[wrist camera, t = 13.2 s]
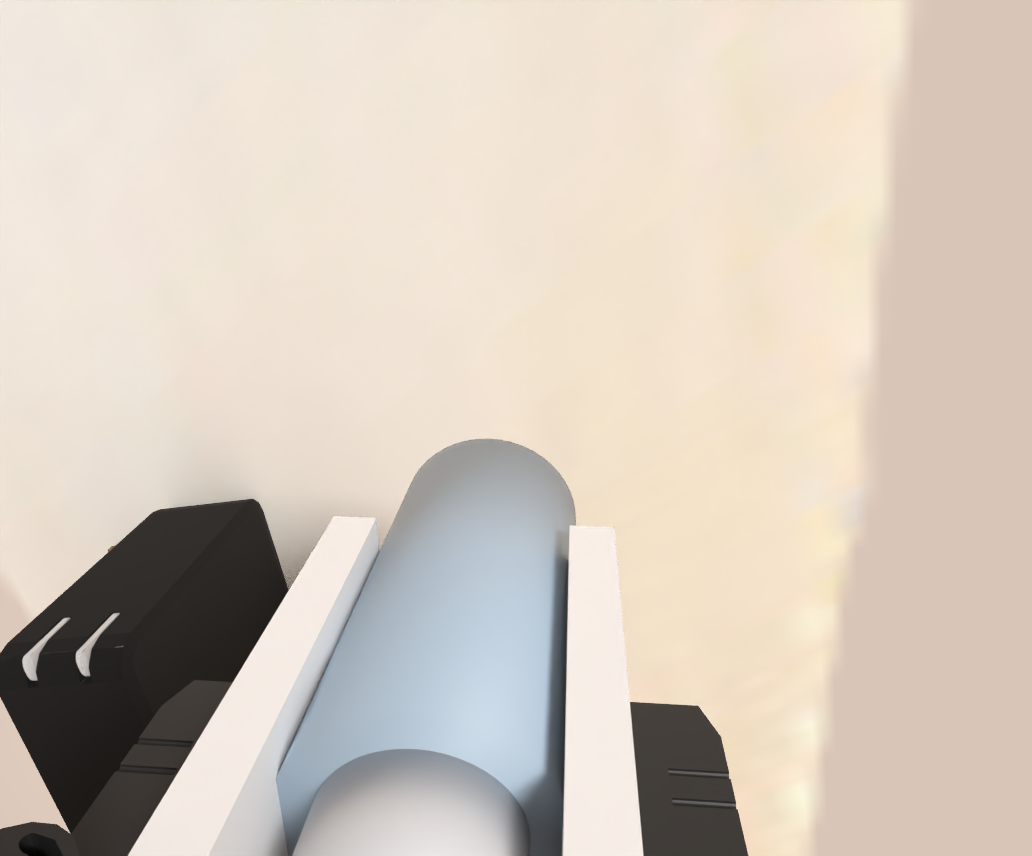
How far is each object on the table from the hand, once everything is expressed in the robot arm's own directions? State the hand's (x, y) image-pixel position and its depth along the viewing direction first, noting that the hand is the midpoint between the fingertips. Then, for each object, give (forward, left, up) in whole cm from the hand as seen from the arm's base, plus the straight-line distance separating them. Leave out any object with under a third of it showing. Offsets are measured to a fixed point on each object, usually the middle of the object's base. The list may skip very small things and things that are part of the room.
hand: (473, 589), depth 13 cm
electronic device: (+11, -12, -15) cm, 22 cm away
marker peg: (0, 0, -3) cm, 3 cm away
